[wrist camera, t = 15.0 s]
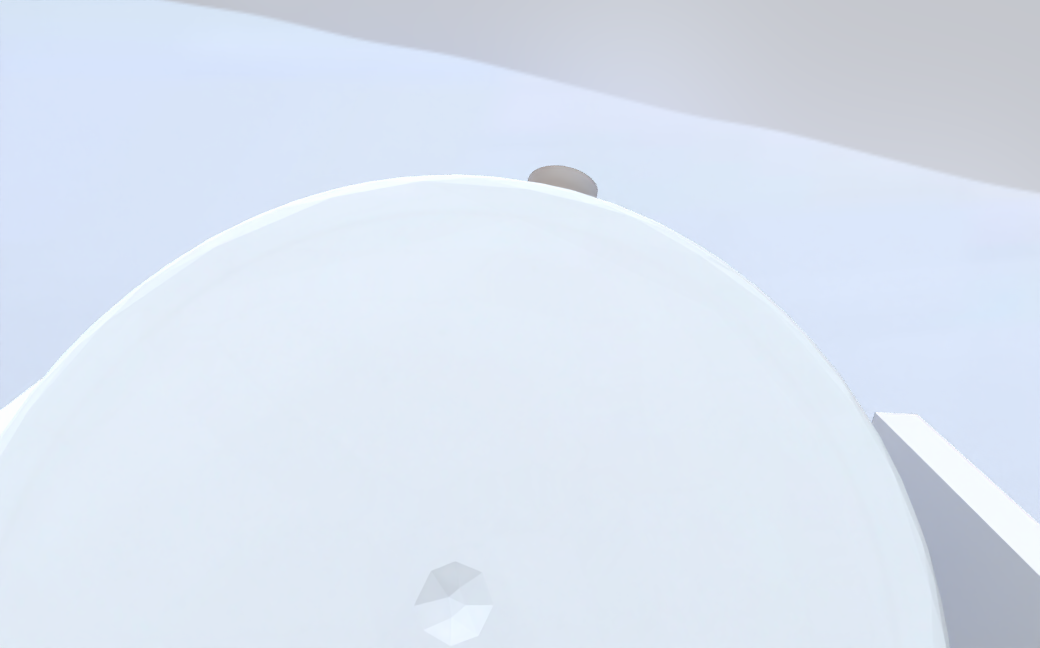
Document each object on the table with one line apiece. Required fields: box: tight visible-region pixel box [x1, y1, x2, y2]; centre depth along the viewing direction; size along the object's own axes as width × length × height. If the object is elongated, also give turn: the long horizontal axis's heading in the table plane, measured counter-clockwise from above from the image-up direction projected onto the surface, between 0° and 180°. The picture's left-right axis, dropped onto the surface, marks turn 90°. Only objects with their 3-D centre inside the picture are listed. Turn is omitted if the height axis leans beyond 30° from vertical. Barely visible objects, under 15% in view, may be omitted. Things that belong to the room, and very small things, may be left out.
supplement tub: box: [0, 174, 950, 648], centre depth 13 cm, size 10×10×15 cm
